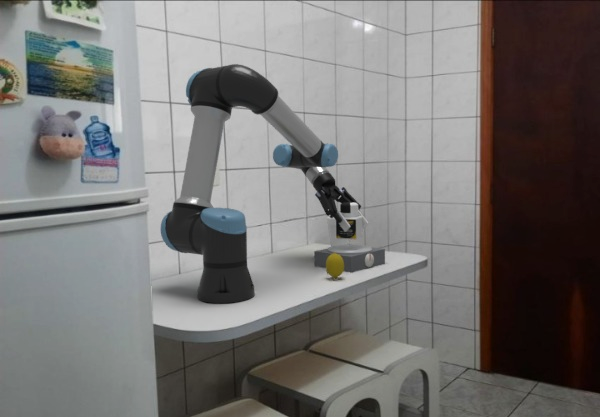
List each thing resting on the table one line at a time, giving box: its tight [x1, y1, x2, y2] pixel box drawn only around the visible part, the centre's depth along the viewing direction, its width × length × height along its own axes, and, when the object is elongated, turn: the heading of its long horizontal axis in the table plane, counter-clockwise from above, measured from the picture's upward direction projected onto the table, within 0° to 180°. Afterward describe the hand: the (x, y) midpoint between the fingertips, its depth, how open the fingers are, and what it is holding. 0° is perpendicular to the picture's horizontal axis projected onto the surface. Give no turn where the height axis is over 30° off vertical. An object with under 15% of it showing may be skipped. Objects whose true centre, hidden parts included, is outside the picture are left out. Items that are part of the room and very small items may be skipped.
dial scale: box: [313, 243, 386, 273], centre depth 181 cm, size 18×17×6 cm
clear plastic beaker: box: [326, 216, 350, 247], centre depth 209 cm, size 10×9×13 cm
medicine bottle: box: [336, 202, 364, 241], centre depth 180 cm, size 7×7×12 cm
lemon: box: [325, 253, 345, 280], centre depth 161 cm, size 6×6×8 cm
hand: (357, 227), depth 178 cm, fingers closed on medicine bottle, 9 cm apart
